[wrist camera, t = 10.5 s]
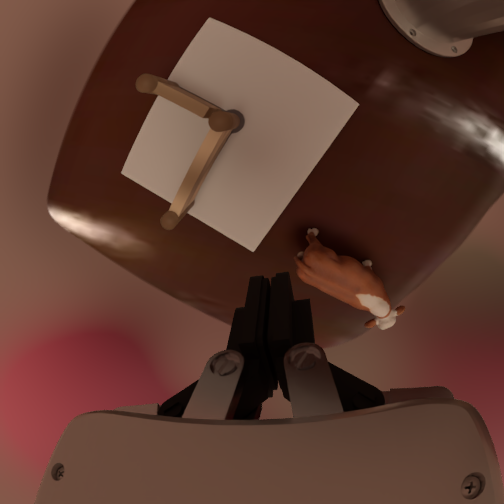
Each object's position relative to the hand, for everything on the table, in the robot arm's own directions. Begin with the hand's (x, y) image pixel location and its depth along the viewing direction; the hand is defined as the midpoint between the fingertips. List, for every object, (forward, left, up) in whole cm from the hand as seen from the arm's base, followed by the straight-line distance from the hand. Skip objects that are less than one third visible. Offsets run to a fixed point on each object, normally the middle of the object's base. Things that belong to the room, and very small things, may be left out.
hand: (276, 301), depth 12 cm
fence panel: (0, -7, -17) cm, 18 cm away
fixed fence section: (-4, -12, -18) cm, 21 cm away
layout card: (-3, -7, -18) cm, 19 cm away
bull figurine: (+2, +10, -18) cm, 21 cm away
